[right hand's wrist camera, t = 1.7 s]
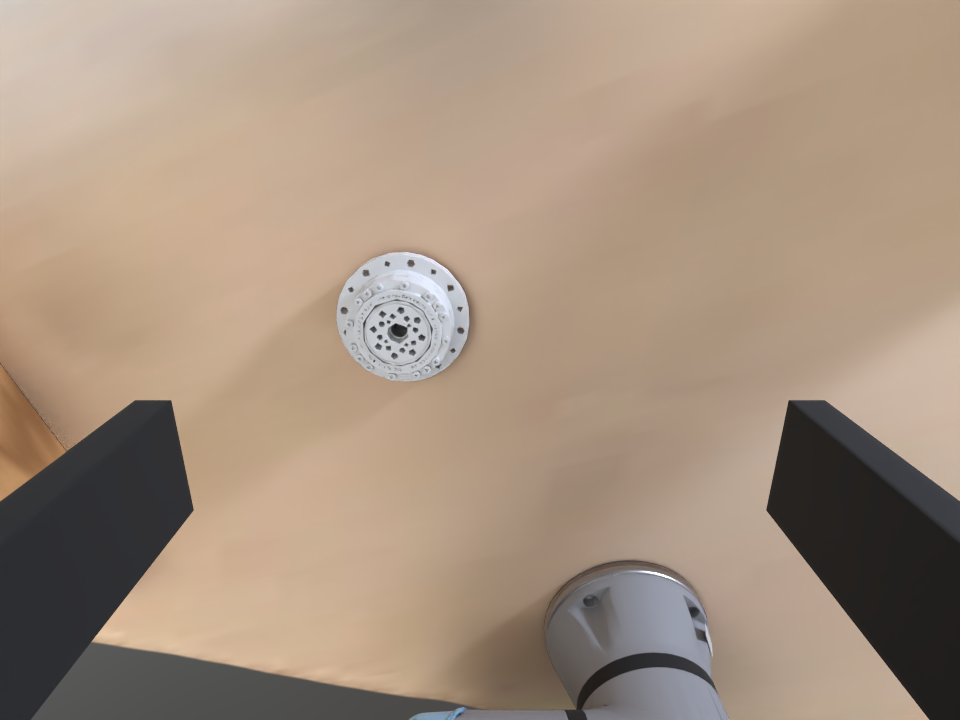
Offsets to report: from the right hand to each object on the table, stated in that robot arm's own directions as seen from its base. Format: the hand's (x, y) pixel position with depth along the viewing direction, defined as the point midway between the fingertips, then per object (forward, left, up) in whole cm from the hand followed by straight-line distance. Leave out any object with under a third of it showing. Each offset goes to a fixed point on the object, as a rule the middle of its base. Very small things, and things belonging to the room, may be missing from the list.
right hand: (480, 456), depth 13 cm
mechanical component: (-7, +5, -32) cm, 33 cm away
